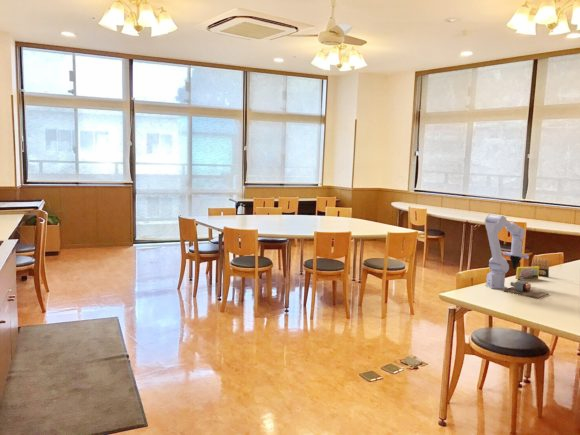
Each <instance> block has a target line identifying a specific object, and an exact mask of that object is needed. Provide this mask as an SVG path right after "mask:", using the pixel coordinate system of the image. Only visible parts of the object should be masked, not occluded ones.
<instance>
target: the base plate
mask: <svg viewBox="0 0 580 435" xmlns="http://www.w3.org/2000/svg"><path fill="white" fill-rule="evenodd" d="M503 292H504V293H505V292H506V293H508V292H509V293H508V294H513V293H514V295H517V294H518V296H523V297H527V298H532V299H535V300H540V299H541V298H544V297H547V296H549V292H545V291H541V290H535V289H531V288H530V291H524V292H519V291H515V286H511V287H507V288H504V289H503Z"/></svg>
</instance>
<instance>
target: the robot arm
mask: <svg viewBox="0 0 580 435" xmlns="http://www.w3.org/2000/svg"><path fill="white" fill-rule="evenodd" d="M484 226H485V230H486V234H487V238H488V242H489V247H490V248H489V249H490V252H491V257H490V259H489V260H488V263H489V264H488V268H489V270H490V272H488V273H487V274H486V284H485V286H486V285H487V287H488V286H489V287H488V288H490V287H491V289H507V288H508V287H507V286H505V280H506V274H507V272H509V270H510V264H509V262H508V260H507V259H506V258H505V257H504V256H508V257H509V260H510V261H511V264H512V269H515V270H517V267H519V266H518V265H519V263H520V261H521V260H522V259H526V260H528V259H529V258H530V257H529V255H528V254H524V253H522V250H523V249H522V247H523V240H524V237H525V234H526V230H525V228H523V227H521V226H519V225H518V224H516V222H515V221H509V220H507V217H506V216H504V215H497V214H490V213H489V214H487V215H486V217H485V220H484ZM503 228H505V230H506V231H508V232H509V233H510V236H511V246H510V248H511V249H510V252H509V251H503V254H502V249H501V244H500V240H499V233H501V232H502V230H503Z"/></svg>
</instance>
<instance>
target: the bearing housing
mask: <svg viewBox="0 0 580 435" xmlns="http://www.w3.org/2000/svg"><path fill="white" fill-rule="evenodd" d="M514 283H515V291H519V292H524V291H525V289H524V285H525V284H526V283H529V281H527V280H516V281H515V282H514Z"/></svg>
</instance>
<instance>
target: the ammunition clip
mask: <svg viewBox="0 0 580 435" xmlns="http://www.w3.org/2000/svg"><path fill="white" fill-rule="evenodd" d="M531 261H532V262H531V266H530V267H536V266H538V267H540V268H539V276H538V277H544V278H549V276H550V272H549V271H550V260H549V258H548V259H546V258H544V259H543V258H540V257H537V256H536V257H534V256H532V260H531Z"/></svg>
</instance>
